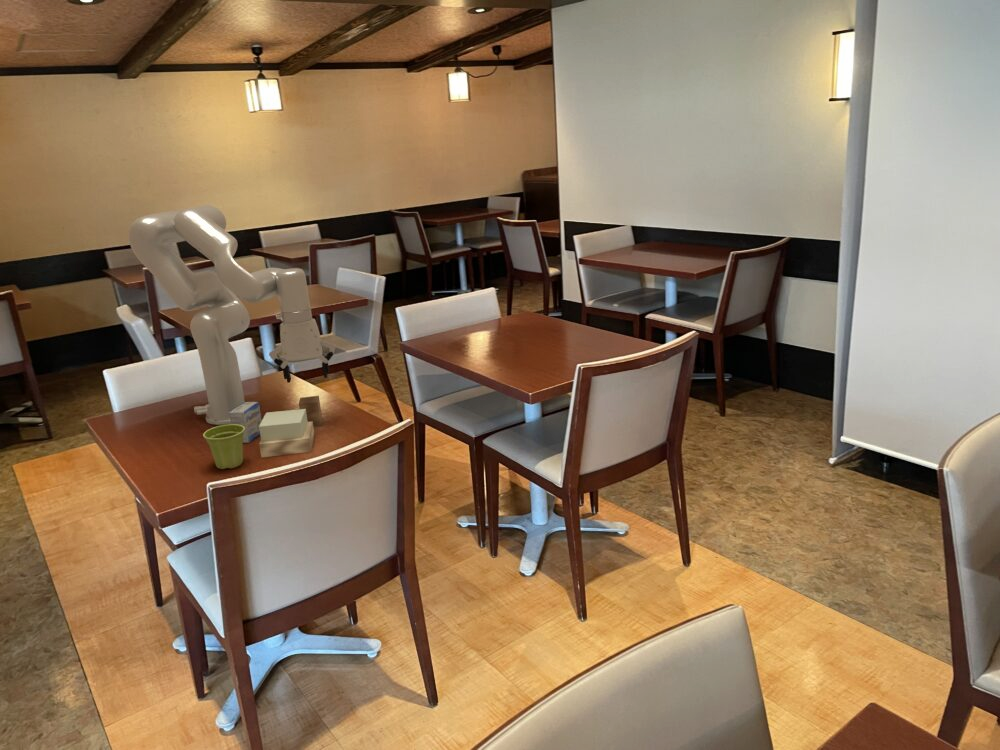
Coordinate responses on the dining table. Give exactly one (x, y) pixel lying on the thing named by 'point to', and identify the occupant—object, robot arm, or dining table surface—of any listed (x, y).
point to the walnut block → (312, 409)
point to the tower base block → (288, 444)
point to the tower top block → (283, 425)
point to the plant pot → (226, 445)
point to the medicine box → (247, 419)
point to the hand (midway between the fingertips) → (307, 378)
